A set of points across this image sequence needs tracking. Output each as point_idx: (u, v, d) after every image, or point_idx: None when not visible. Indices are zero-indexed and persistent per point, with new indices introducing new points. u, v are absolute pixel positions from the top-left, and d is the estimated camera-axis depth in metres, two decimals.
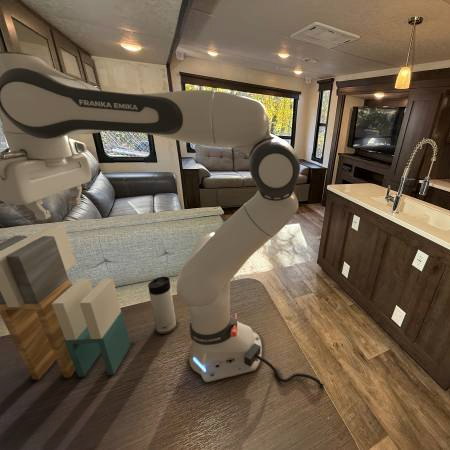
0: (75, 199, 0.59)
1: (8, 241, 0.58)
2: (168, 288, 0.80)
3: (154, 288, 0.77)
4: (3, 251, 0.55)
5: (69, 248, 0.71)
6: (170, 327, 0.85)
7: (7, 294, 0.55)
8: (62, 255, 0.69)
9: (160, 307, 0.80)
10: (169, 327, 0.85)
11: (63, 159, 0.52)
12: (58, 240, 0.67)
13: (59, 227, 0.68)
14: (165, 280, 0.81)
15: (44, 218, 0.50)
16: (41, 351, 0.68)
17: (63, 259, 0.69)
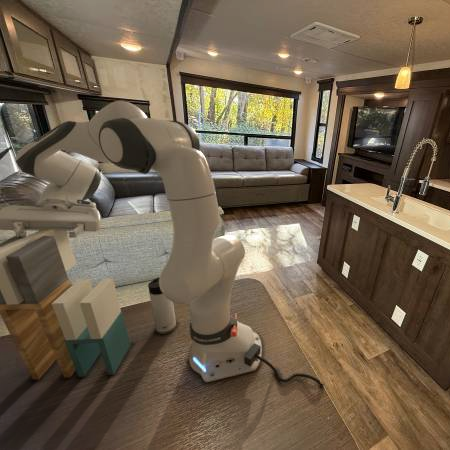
0: (69, 230, 0.65)
1: (8, 241, 0.58)
2: None
3: (154, 288, 0.77)
4: (3, 247, 0.55)
5: (69, 249, 0.72)
6: (170, 327, 0.85)
7: (6, 291, 0.55)
8: (63, 255, 0.69)
9: (160, 307, 0.80)
10: (169, 327, 0.85)
11: (57, 203, 0.69)
12: (58, 240, 0.68)
13: None
14: None
15: None
16: (41, 351, 0.68)
17: (63, 259, 0.70)
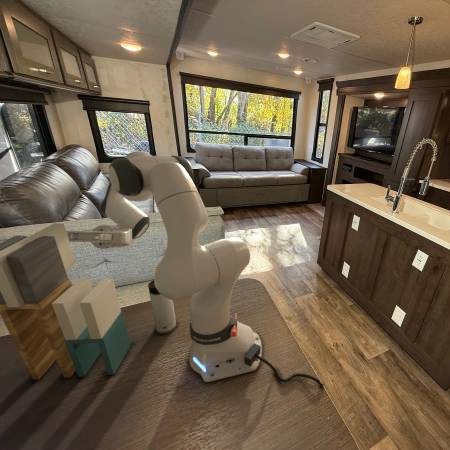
0: None
1: (8, 241, 0.58)
2: None
3: (154, 288, 0.77)
4: (3, 251, 0.55)
5: (69, 248, 0.71)
6: (170, 327, 0.85)
7: (7, 294, 0.55)
8: (62, 255, 0.69)
9: (160, 307, 0.80)
10: (169, 327, 0.85)
11: (104, 228, 0.90)
12: (58, 240, 0.67)
13: (59, 227, 0.68)
14: None
15: None
16: (41, 351, 0.68)
17: (63, 259, 0.69)
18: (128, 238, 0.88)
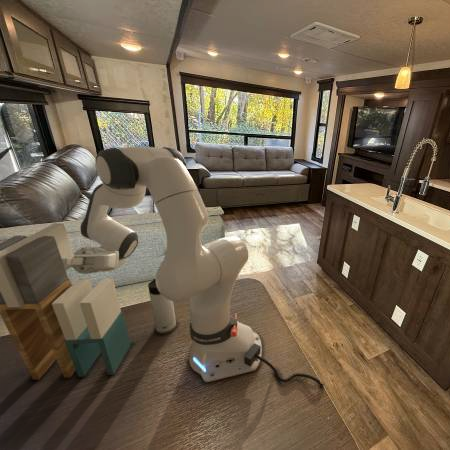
0: None
1: (8, 241, 0.58)
2: None
3: (154, 288, 0.77)
4: (3, 251, 0.55)
5: (69, 248, 0.71)
6: (170, 327, 0.85)
7: (7, 294, 0.55)
8: (62, 255, 0.69)
9: (160, 307, 0.80)
10: (169, 327, 0.85)
11: (87, 250, 0.80)
12: (58, 240, 0.67)
13: (59, 227, 0.68)
14: None
15: None
16: (41, 351, 0.68)
17: None
18: (112, 262, 0.78)
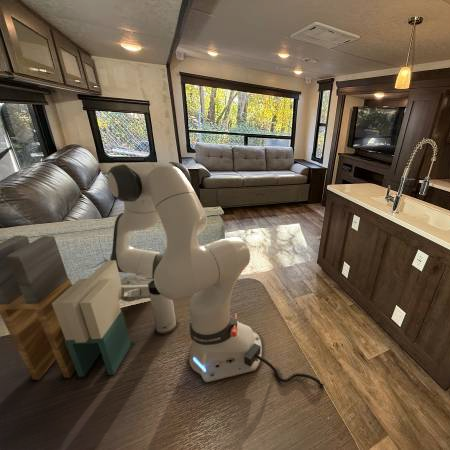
0: None
1: (8, 241, 0.58)
2: None
3: (154, 288, 0.77)
4: (74, 293, 0.61)
5: (119, 282, 0.78)
6: (170, 327, 0.85)
7: (76, 332, 0.62)
8: None
9: (160, 307, 0.80)
10: (169, 327, 0.85)
11: (131, 280, 0.86)
12: (112, 276, 0.74)
13: (112, 264, 0.74)
14: None
15: None
16: (41, 351, 0.68)
17: None
18: None
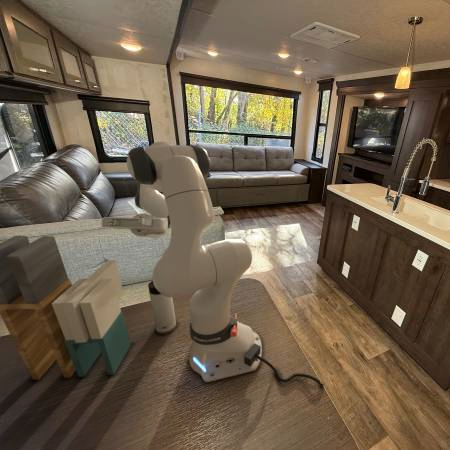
0: None
1: (8, 241, 0.58)
2: None
3: (154, 288, 0.77)
4: (74, 293, 0.61)
5: (119, 282, 0.78)
6: (170, 327, 0.85)
7: (76, 332, 0.62)
8: None
9: (160, 307, 0.80)
10: (169, 327, 0.85)
11: (143, 216, 0.94)
12: (112, 276, 0.74)
13: (112, 264, 0.74)
14: None
15: None
16: (41, 351, 0.68)
17: None
18: (165, 226, 0.92)
